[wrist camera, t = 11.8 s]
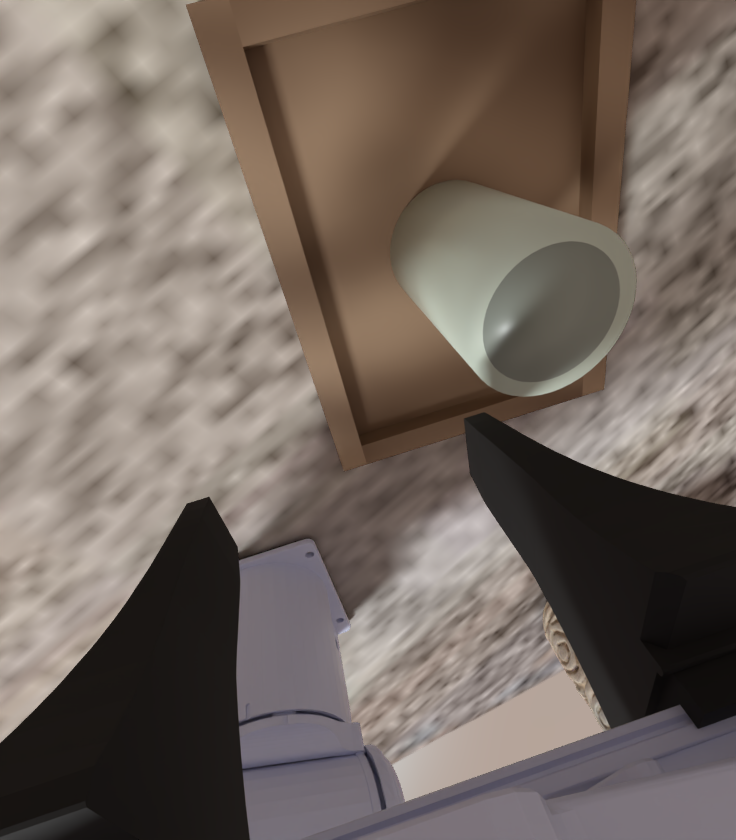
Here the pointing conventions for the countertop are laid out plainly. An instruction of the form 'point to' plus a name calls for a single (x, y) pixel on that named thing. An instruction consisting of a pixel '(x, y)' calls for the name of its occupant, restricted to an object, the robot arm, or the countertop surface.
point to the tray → (409, 172)
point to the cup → (514, 284)
